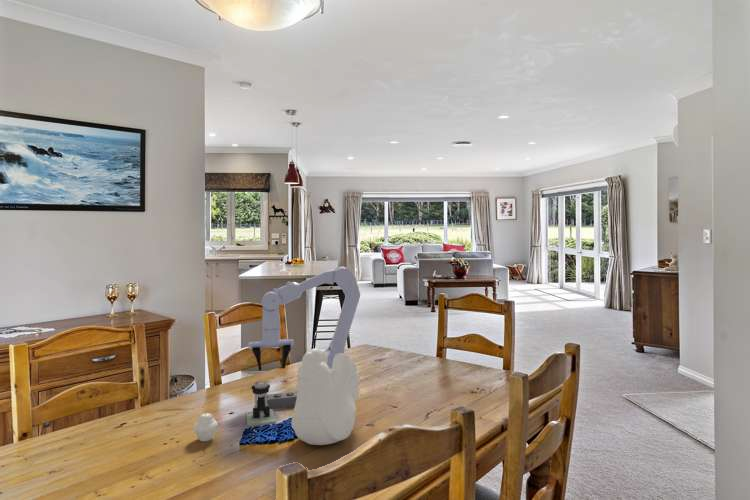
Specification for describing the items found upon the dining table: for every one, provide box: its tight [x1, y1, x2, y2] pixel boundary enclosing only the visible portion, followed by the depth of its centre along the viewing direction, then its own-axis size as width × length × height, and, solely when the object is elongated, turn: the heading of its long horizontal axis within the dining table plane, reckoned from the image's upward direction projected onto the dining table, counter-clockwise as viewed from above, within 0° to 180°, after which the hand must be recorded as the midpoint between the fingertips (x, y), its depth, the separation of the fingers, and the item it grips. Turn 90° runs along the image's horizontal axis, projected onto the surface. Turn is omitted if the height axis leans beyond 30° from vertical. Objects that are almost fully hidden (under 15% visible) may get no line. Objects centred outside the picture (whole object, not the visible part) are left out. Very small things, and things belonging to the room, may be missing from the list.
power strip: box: [264, 390, 298, 410], centre depth 151 cm, size 18×5×4 cm, turn 108°
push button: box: [246, 381, 271, 419], centre depth 138 cm, size 7×5×10 cm
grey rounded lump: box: [193, 412, 219, 442], centre depth 125 cm, size 6×6×7 cm
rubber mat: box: [245, 408, 277, 427], centre depth 139 cm, size 8×10×1 cm
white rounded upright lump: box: [291, 347, 360, 446], centre depth 126 cm, size 25×16×25 cm, turn 136°
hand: (271, 368), depth 155 cm, fingers open, 7 cm apart
